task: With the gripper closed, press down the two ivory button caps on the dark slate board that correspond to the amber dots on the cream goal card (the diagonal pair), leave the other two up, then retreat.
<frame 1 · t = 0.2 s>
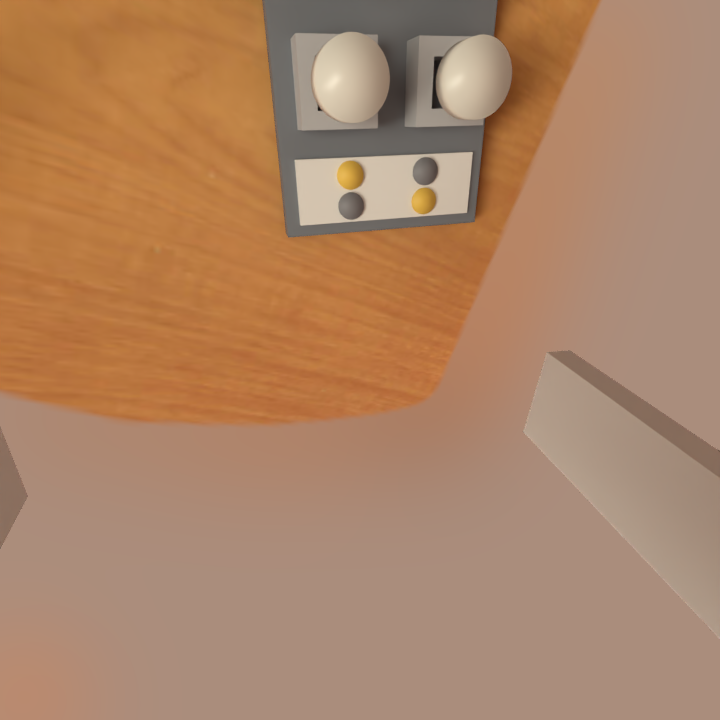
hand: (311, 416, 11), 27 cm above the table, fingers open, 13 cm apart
board: (380, 70, 32), on the table
button 4: (465, 81, 28), point 6 cm above the table, slide at 0.0 cm
button 3: (345, 81, 27), point 6 cm above the table, slide at 0.0 cm
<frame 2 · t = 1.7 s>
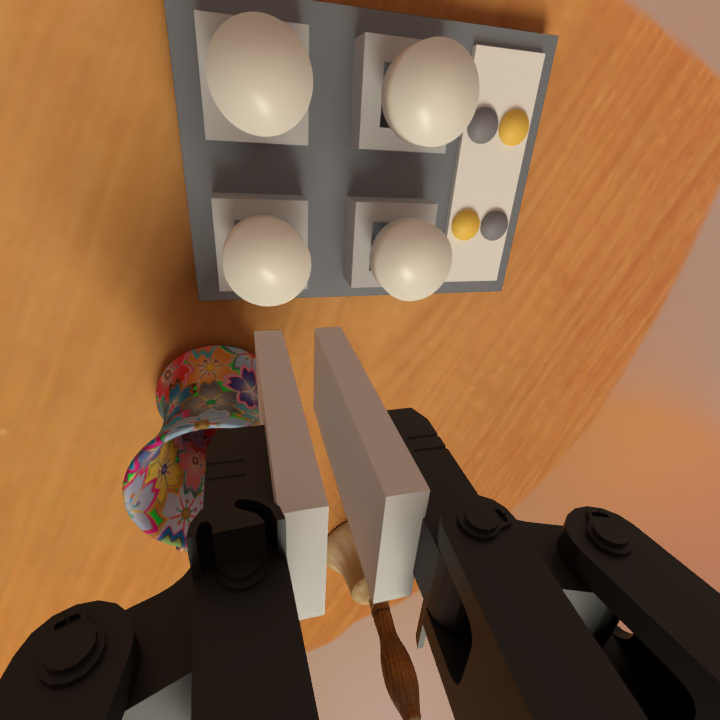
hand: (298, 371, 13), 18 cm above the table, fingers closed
board: (366, 170, 28), on the table
button 4: (420, 96, 22), point 6 cm above the table, slide at 0.0 cm
button 3: (403, 254, 26), point 6 cm above the table, slide at 0.0 cm
button 2: (258, 81, 20), point 6 cm above the table, slide at 0.0 cm
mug: (213, 403, 34), on the table
button 1: (265, 255, 24), point 6 cm above the table, slide at 0.0 cm
hand bell: (360, 541, 46), on the table
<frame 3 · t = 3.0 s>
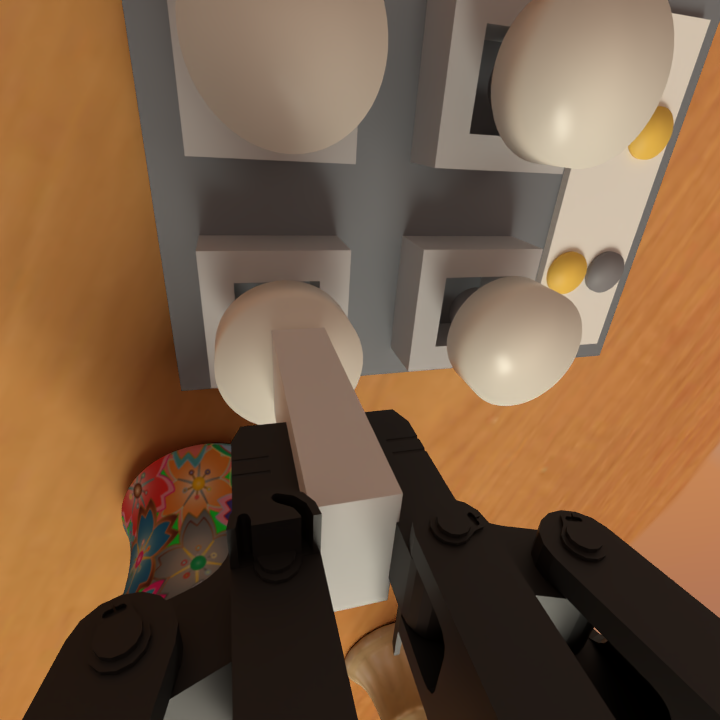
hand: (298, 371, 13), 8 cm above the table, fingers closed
board: (428, 195, 19), on the table
button 4: (552, 81, 13), point 6 cm above the table, slide at 0.0 cm
button 3: (495, 329, 17), point 6 cm above the table, slide at 0.0 cm
button 2: (278, 50, 11), point 6 cm above the table, slide at 0.0 cm
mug: (204, 510, 24), on the table
button 1: (284, 340, 15), point 5 cm above the table, slide at 0.1 cm, touching gripper
hand bell: (391, 647, 37), on the table
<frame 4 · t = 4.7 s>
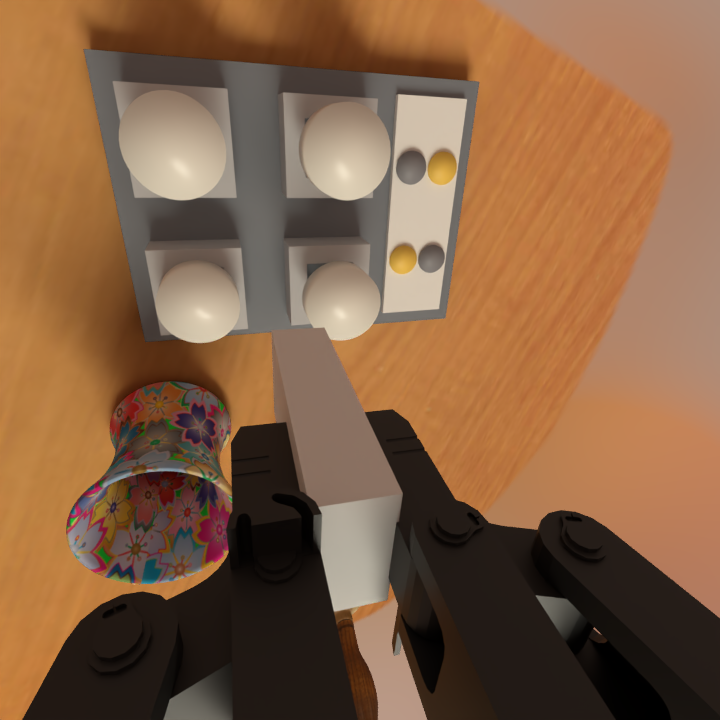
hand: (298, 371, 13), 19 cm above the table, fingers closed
board: (303, 211, 29), on the table
button 4: (338, 151, 23), point 6 cm above the table, slide at 0.0 cm
button 3: (336, 294, 27), point 6 cm above the table, slide at 0.0 cm
button 2: (177, 146, 21), point 6 cm above the table, slide at 0.0 cm
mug: (169, 434, 35), on the table
button 1: (199, 295, 26), point 4 cm above the table, slide at 1.3 cm
hand bell: (327, 558, 47), on the table
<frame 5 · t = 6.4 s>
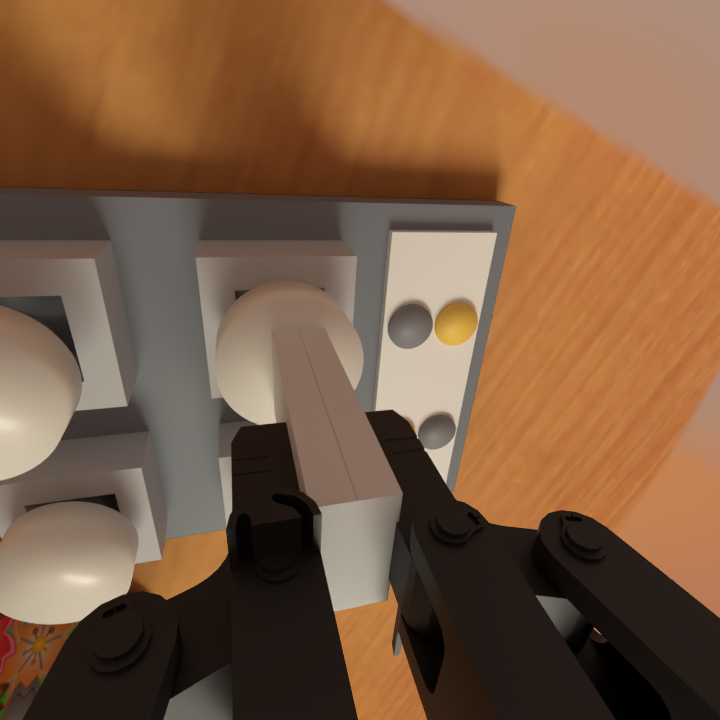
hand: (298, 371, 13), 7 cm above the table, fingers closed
board: (252, 376, 20), on the table
button 4: (284, 340, 15), point 5 cm above the table, slide at 0.9 cm, touching gripper
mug: (74, 641, 26), on the table
button 1: (76, 537, 17), point 4 cm above the table, slide at 1.3 cm
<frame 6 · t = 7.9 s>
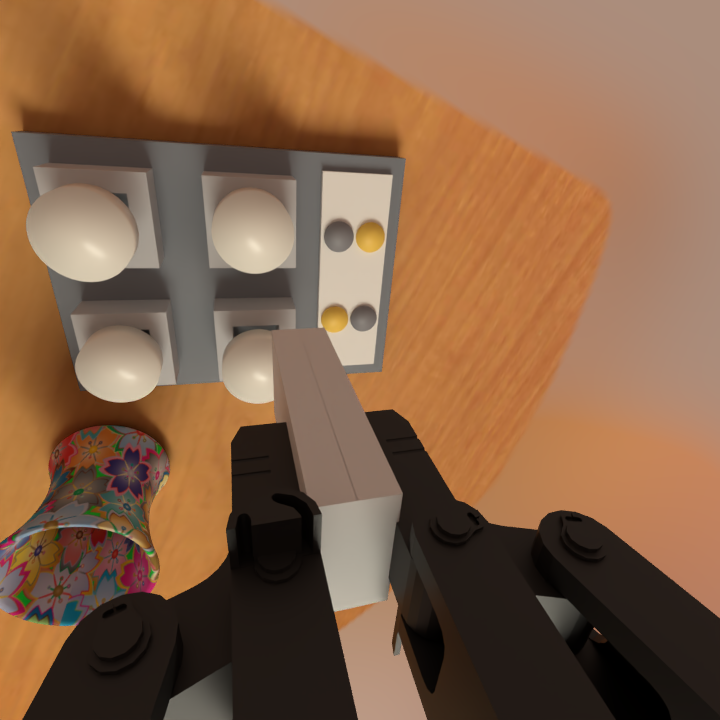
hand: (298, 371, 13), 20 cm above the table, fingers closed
board: (237, 271, 31), on the table
button 4: (252, 226, 25), point 4 cm above the table, slide at 1.3 cm
button 3: (258, 358, 28), point 6 cm above the table, slide at 0.0 cm
button 2: (92, 228, 22), point 6 cm above the table, slide at 0.0 cm
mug: (110, 472, 36), on the table
button 1: (125, 355, 27), point 4 cm above the table, slide at 1.3 cm
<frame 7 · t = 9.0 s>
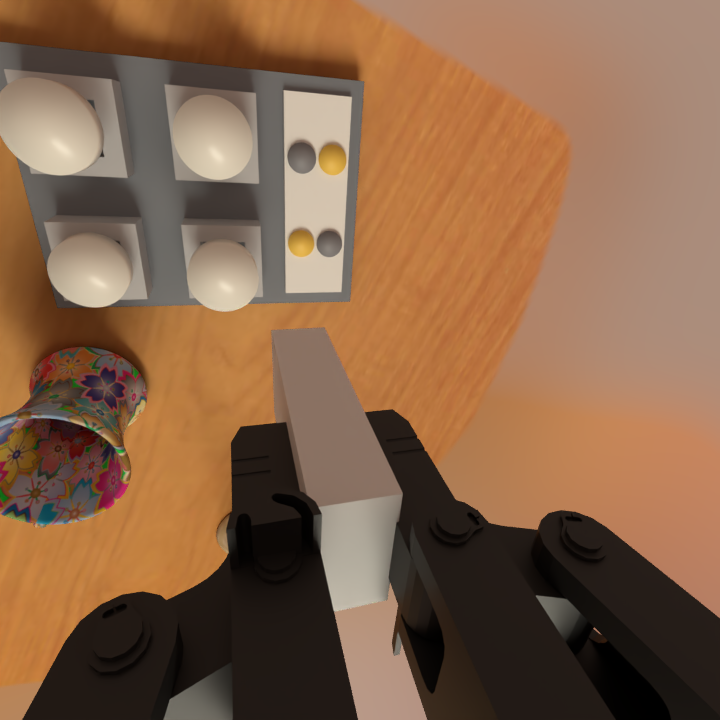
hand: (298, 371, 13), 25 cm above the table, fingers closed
board: (207, 195, 32), on the table
button 4: (214, 137, 27), point 4 cm above the table, slide at 1.3 cm
button 3: (224, 270, 30), point 6 cm above the table, slide at 0.0 cm
button 2: (60, 128, 24), point 6 cm above the table, slide at 0.0 cm
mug: (90, 398, 38), on the table
button 1: (97, 265, 29), point 4 cm above the table, slide at 1.3 cm
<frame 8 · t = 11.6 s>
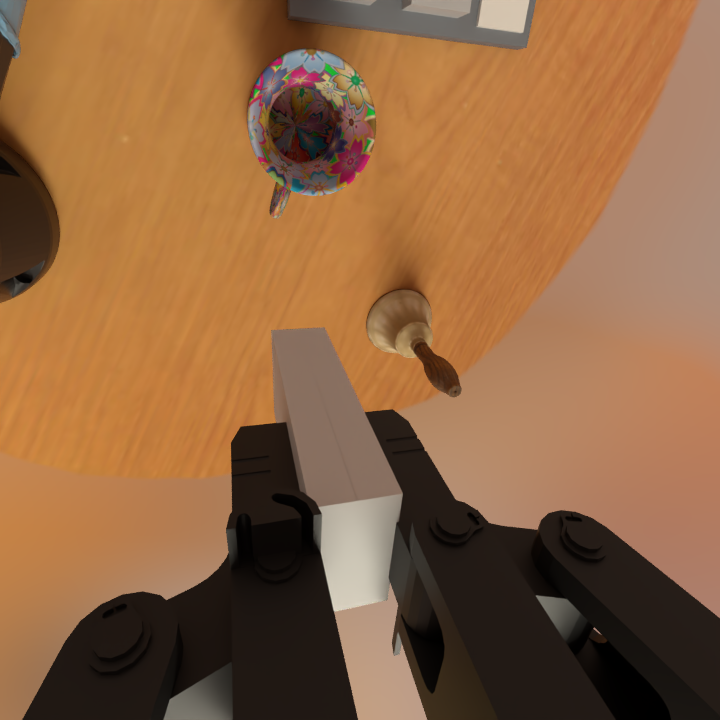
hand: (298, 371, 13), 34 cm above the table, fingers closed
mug: (288, 140, 41), on the table
hand bell: (398, 321, 53), on the table
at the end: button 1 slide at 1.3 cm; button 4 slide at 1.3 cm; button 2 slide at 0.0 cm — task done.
